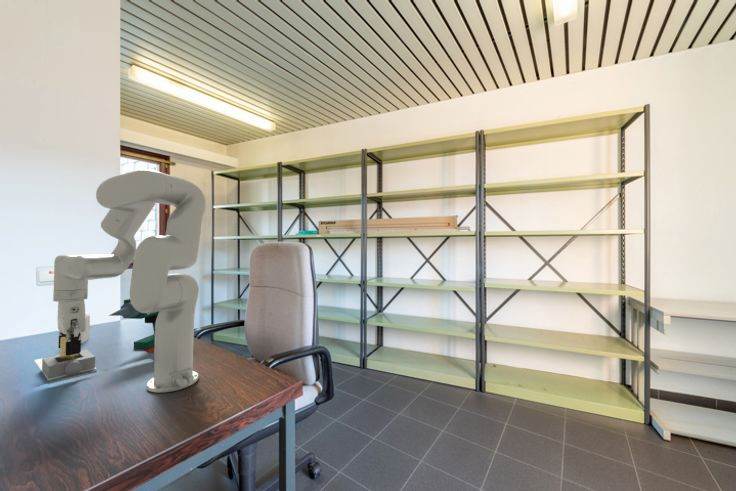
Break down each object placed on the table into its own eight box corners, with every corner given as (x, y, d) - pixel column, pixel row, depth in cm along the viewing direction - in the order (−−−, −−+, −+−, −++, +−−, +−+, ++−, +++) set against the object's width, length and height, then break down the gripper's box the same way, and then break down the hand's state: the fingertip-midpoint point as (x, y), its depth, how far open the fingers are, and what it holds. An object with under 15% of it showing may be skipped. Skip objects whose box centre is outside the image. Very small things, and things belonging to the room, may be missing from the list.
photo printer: (81, 347, 115) (82, 314, 115) (66, 348, 113) (67, 315, 113) (91, 339, 124) (91, 309, 124) (77, 340, 122) (78, 310, 122)
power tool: (118, 368, 97) (120, 305, 97) (96, 367, 97) (98, 305, 97) (181, 338, 129) (183, 291, 129) (165, 337, 129) (166, 291, 129)
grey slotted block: (97, 373, 92) (97, 357, 92) (48, 385, 84) (49, 368, 84) (77, 354, 107) (77, 341, 107) (33, 363, 99) (34, 349, 99)
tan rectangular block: (79, 368, 93) (80, 336, 93) (61, 372, 89) (62, 339, 89) (76, 365, 95) (77, 333, 95) (58, 369, 92) (59, 336, 92)
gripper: (95, 296, 90) (93, 353, 90) (80, 290, 101) (78, 342, 100) (59, 299, 84) (57, 360, 84) (47, 293, 94) (46, 347, 94)
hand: (69, 350), depth 92 cm, fingers open, 9 cm apart
